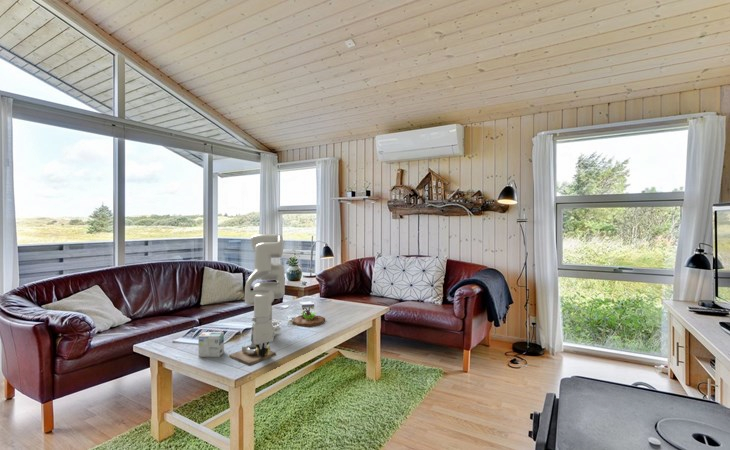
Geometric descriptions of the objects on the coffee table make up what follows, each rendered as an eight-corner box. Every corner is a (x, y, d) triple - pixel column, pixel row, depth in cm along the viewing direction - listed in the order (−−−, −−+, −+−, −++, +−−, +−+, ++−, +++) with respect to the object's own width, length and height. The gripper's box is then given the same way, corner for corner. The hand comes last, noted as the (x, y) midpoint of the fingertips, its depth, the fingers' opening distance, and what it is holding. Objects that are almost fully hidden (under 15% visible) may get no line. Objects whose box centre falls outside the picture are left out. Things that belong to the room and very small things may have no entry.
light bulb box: (224, 351, 189) (224, 331, 189) (219, 357, 183) (219, 336, 182) (203, 351, 189) (203, 331, 188) (198, 357, 182) (197, 335, 182)
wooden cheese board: (255, 347, 196) (255, 337, 196) (275, 354, 186) (275, 344, 186) (229, 356, 183) (229, 346, 183) (249, 365, 173) (249, 354, 173)
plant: (313, 329, 227) (313, 311, 227) (287, 324, 236) (287, 307, 235) (329, 320, 245) (329, 304, 245) (305, 316, 254) (305, 300, 253)
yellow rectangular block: (239, 353, 183) (239, 345, 183) (247, 349, 189) (247, 341, 189) (265, 357, 179) (265, 349, 179) (272, 352, 185) (272, 344, 185)
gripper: (250, 323, 171) (250, 362, 171) (279, 317, 181) (279, 354, 181) (244, 320, 176) (244, 357, 177) (272, 314, 186) (272, 350, 187)
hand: (262, 355), depth 179 cm, fingers closed
